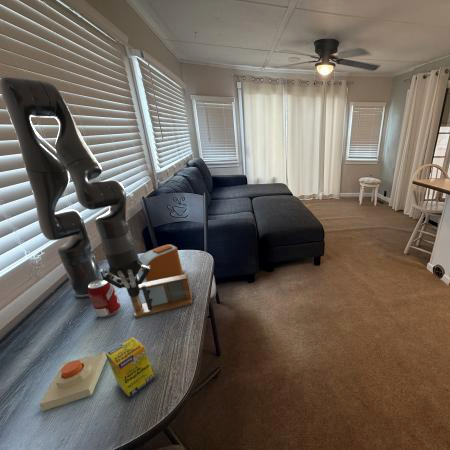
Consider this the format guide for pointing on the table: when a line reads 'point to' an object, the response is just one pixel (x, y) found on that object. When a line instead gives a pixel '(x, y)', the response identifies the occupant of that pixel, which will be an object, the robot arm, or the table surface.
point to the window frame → (177, 293)
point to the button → (71, 369)
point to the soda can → (103, 298)
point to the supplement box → (130, 366)
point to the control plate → (74, 383)
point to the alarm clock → (161, 263)
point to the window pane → (155, 295)
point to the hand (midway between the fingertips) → (135, 295)
